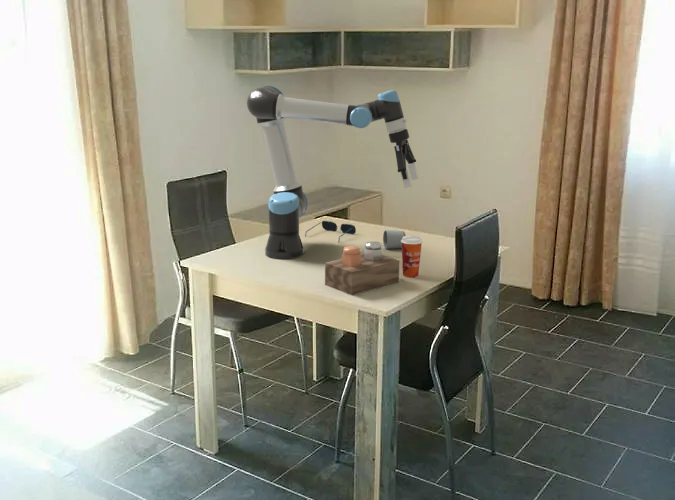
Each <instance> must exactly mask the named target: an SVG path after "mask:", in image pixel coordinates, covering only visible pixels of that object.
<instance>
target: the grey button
mask: <svg viewBox="0 0 675 500" xmlns="http://www.w3.org/2000/svg"><path fill="white" fill-rule="evenodd" d="M364 246H365V247H364V249H363V250H364V253H363V254H364V259H366V260H369V261H372V262H374V261H378V260H382V255H383V247H382V243H381V242H379V241H367V242H365V245H364Z"/></svg>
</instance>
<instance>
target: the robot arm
mask: <svg viewBox="0 0 675 500" xmlns="http://www.w3.org/2000/svg"><path fill="white" fill-rule="evenodd" d="M377 97H378V98H377V99H375V100H374V101H369V102H365V103H362V104H357V105H353V104H346V103H345V104H344V103H335V102H326V101H320V100H311V99H302V98H297V97H296V98H295V97H289V96H288V97H286V96H285V95H284V93H283V91H282V90H280V89H279V88H278V87H276V86H273V85H264V86H261V87H258V88H255V89H253V90H252V91H251V92H250V93H249V95H248V97H247V100H246V106H247V109H248V111H249V113H250V114H251V115H252V116H254V117H255V118H256V122H257V125H259V126H260V127H261V128H262V132H263V135H264V140H265V143H266V144H265V145H266V148H267V149H266V150H267V153H268V157H269V162H270V166H271V170H272V175H273V179H274V184H275V187H274V189H272V190H273V194H272V195H271V196H270V197H269V198H268V199H269V200H268V224H269V225H268V226H269V227H268V230H269V232H268V233H269V234H268V238H267V242H266V246H265V249H264V251H265V253H264V254H265V256H267V257H268V258H272V259H281V260H282V259H284V260H286V259H295V258H299V257H301V256H303V255H304V254H305V253H304V252H305V251H304V250H305V249H304V245H303V242H302V238H301V236H300V218H301V217H303V216H304V215H305V213H306V211H307V209H308V198H307V195H306V193H305V192H304V189H303V185H302V183H301V182H299V181H297V180H298V179H297V177H296V171H295V168H294V163H293V158H292V154H291V150H290V146H289V141H288V137H287V131H286V128H285V127H286V126H285V123H284V122H285V120H286V119H293V120H294V119H295V120H301V121H310V122H311V121H312V122H318V123H325V124H327V123H328V124H334V125H335V124H336V125H342V126H343V125H344V126H349V127H354V128H358V129H364V128H367V127H368V126H369V125H370V124H371V123H373V122H376V121H379V120H383V119H384V123H385V127H386V131H387V133H388V137H389V138H388V139H389V142H390V143H392V144H394V143H395V145H394V147H393V148H394V152H395V159H396V166H397V173H400V176H401V178H402V183H403V187H404V189H407V188H410V187H412V182H411V181H414V180H419V175H418V172H417V167H416V164H415V163H417V160H416V158H415V156H414V153H413V151H412V149H411V145H410V143H409V140H408V139H409V138H410V135H409V130H408V129H407V124H406V123H407V119H405V116H404V112H403V108H402V104H401V100H400V97H399V95H398V92H397V91H396V90H395V89H390V90H388V91H384V92H380V93H379V94H377ZM407 168H408V169H407ZM409 174H410V175H409Z"/></svg>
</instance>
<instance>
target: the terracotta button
mask: <svg viewBox="0 0 675 500" xmlns="http://www.w3.org/2000/svg"><path fill="white" fill-rule="evenodd" d="M361 254H362V253H361V248H360V247H359V246H354V245H350V246H349V245H347V246H344V247H343V252H342V259H343V265H346V266H349V267H354V266H358V265H361Z"/></svg>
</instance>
